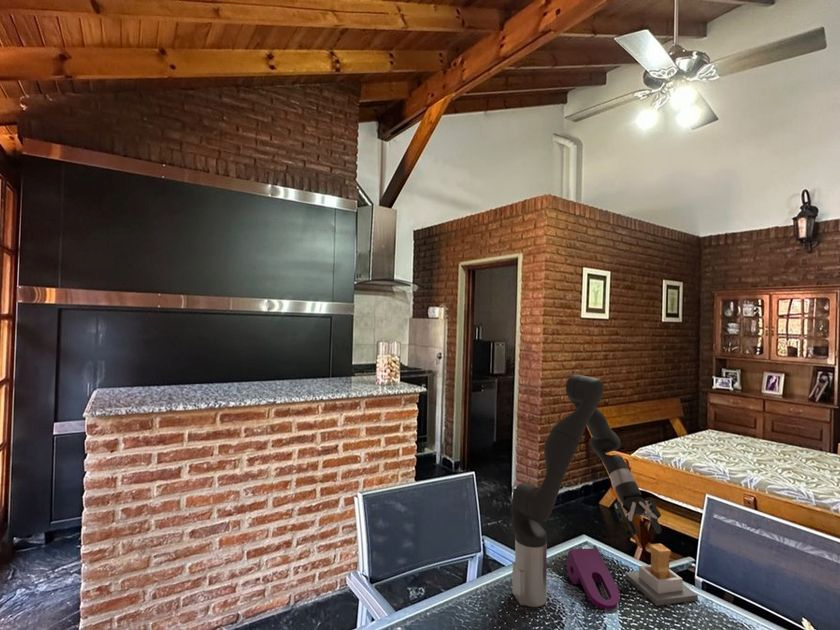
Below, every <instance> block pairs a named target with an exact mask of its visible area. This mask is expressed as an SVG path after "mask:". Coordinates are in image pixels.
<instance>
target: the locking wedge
mask: <svg viewBox="0 0 840 630" xmlns="http://www.w3.org/2000/svg"><path fill="white" fill-rule="evenodd" d="M648 548H649V549H650V565H651V574H652V575H654V576H655V577H656V578H657V579H668V578H669V569H670V555H672V550H671V549H669V548H668V547H666V546H665V545H664V544H662V543H660V542H659V543H653V544H652V543H650V544H649V547H648Z"/></svg>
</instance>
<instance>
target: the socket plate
mask: <svg viewBox="0 0 840 630" xmlns="http://www.w3.org/2000/svg"><path fill="white" fill-rule="evenodd" d="M625 579H626V580H628V581H629V582H630V583H631V584H632V585H633V586H634V588H637V590H639V591H640V592H641V593H642V594H644V596H645V597H647V599H649V600H650V601H651V602H652V603H653V604H654V605H656V606H663V605H671V604H678V603H686V602H693V601H694V602H695V601H699V597H698V596H699V595H698V594H697V593H696V592H694V591H693V590H692V589H690V588H689V587H688V586H686V585H685V584H684V583H683V578H682V577H681V576H679V575H678V574H677V573H676V572H674V571H672V570H671V569H670V568H669V578H668V579H657V578H656V577H655V576H654V575H652V574H651V564H647V565H638V571H634V572H632V571H631V572H625Z"/></svg>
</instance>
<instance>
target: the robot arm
mask: <svg viewBox="0 0 840 630" xmlns="http://www.w3.org/2000/svg"><path fill="white" fill-rule="evenodd" d="M604 388H605V385H604V382H603V380H601V379H600V378H598V377H597V378H596V377H592V376H587V375H582V374H572V375H570V376H569V377H568V379H567V380H566V384H565V392H566V396H567V397H568V399H569V400H570V403H572V404H573V406H574V407H575V410H574V411H573V412H572V413H570V414H569V415H567V416H566V417H564V418H562V419H561V420H560V421H558V422H557V423H556V424H555V425H554V426H553V427H551V429H550V432H549V433H548V436H547V438H546V440H545V442H544V446H543V453H544V463H545V474H544V478H543V481H542V484H541V486H540V487H537V486H535V485H532V484H529V483H527V482H525V483H524V482H521V483H519V484H518V485H516V487H515V489H514V490H513V493H512V496H511V497H512V498H511V514H512V515H511V518H512V529H513V532H514V536H515V537H514V539H515V541H514V543H515V545H514V546H515V547H514V548H515V549H514V551H515V552H514V554H515V555H514V557H515V558H514V560H515V561H513V562H512V594H513V596H514V598H515V599H516V600H517V602H518V604H519V605H520V606H527V607H532V608H537V607H538V608H539V607H542V606H543V605H546V603H547V599H548V598H547V597H548V596H547V595H548V592H547V589H548V587H547V581H548V579H547V568H548V567H547V566H548V563H547V561H548V560H547V555H548V554H547V552H548V549H547V548H548V547H547V545H548V544H547V542H548V539H547V537H548V535H547V532H546V530H545V529H544V528H543V527H542V526H541V525H540V524H542V523H544V522H546V521H547V520H548V519H549V518H550V516H551V514H552V511H553V510H554V507H555V504H556V502H557V498H558V496H559V492H560V489H561V486H562V484H563V483H562V482H563V480H564V477H565V476H566V473H567V471H568V469H569V467H570V464H571V461H572V460H573V457H574V455H575V454H576V451H577V449H578V447H579V444H580V441H581V439H582V436H583V434H584V432H585V430H586V428H588V430H589V433H590V434H591V436H592V437H590V440H589V444H590V447H591V450H592V451H593V452H594V453H595V454H596V455H597V457H598V458H599V459H600V460H601V462H602V463H603V465H604V467H605V469H606V471H607V474H608V475H609V478H610V481H611V484H612V486H613V488H614V491H615V493H616V496H617V498H618V499H619V501H618V500H617V501H616V502H615V503H614V504H613V508H614V510H615V512H616V516H617V518H618V521H619V522H620V523H625V524H626V525H627V527H628V530H629V533H631V534H632V536H637V535H638V534H639V530H637V529H638V528H637V527H636V525H635V523H634V521H633V517H635V516H643V517H644V518H647V519H648V520H649V521H650V523H651V526H652V528H653V529H654V532H655V533H656V534H660V533H662V530H663V529H662V527H661V524H660V522H659V520H658V519H659V518H661V517H662V514H661V512H660V511H659V509H658V507H657V505H656V503H655V502H654V499H652V498H649V499H648V500H644V498H643V496H642V495H643V494H642V492H641V490H640V488H639V485H638V484H637V482H636V479H635V478H634V476H633V474H632V472H631V471H630V469H629V467H628V465H627V463H626V461H625V459H624V457H623V456H622V455H620V454H608V453H610V452H614V451H617V450H618V449H620V447H621V446H622V445H621V440H620V437H619V436H618V434H617V433H616V432H614V431H613V430H612V429H611V427H610V425H609V423H608V421H607V418H606V416H605V415H604V413H603V412H602V411H601V410H599V408H598V406H599V404H600V402H601V400H602V397H603V394H604V390H605V389H604ZM624 510H625V511H626V512H624ZM539 523H540V524H539Z"/></svg>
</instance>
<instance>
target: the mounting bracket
mask: <svg viewBox="0 0 840 630" xmlns="http://www.w3.org/2000/svg"><path fill="white" fill-rule="evenodd" d="M566 557H567V558H566V571H567V574H568V577H569V579H570V581H571V582H572V585H581V586H582V588H583V590H584V592H585V594H586V596H587V598H588V599H589V601H590V602H591V603H592V604H593V605H594V606H595V607H597V608H598V609H601V610H613V609H615V608H617V606H618V604H619V602H620V597H621V594H620V590H619V588H618V586H617V583H616V582H615V580H614V578H613V576H612V574H611V572H610V571H609V568H608V566H607V564H606V562H605V561H604V558H603V557H602V553H600V550H599V548H597V547H592V548H591V547H590V548H574V549H573V548H572V549H569V551H568V555H567V556H566ZM596 584H601V586H602V588H603V589H604V592H605V594H606V596H607V598H608V599H605V598H603V596H602V595H601V593H600V591H599V589H598V586H597V585H596Z"/></svg>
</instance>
